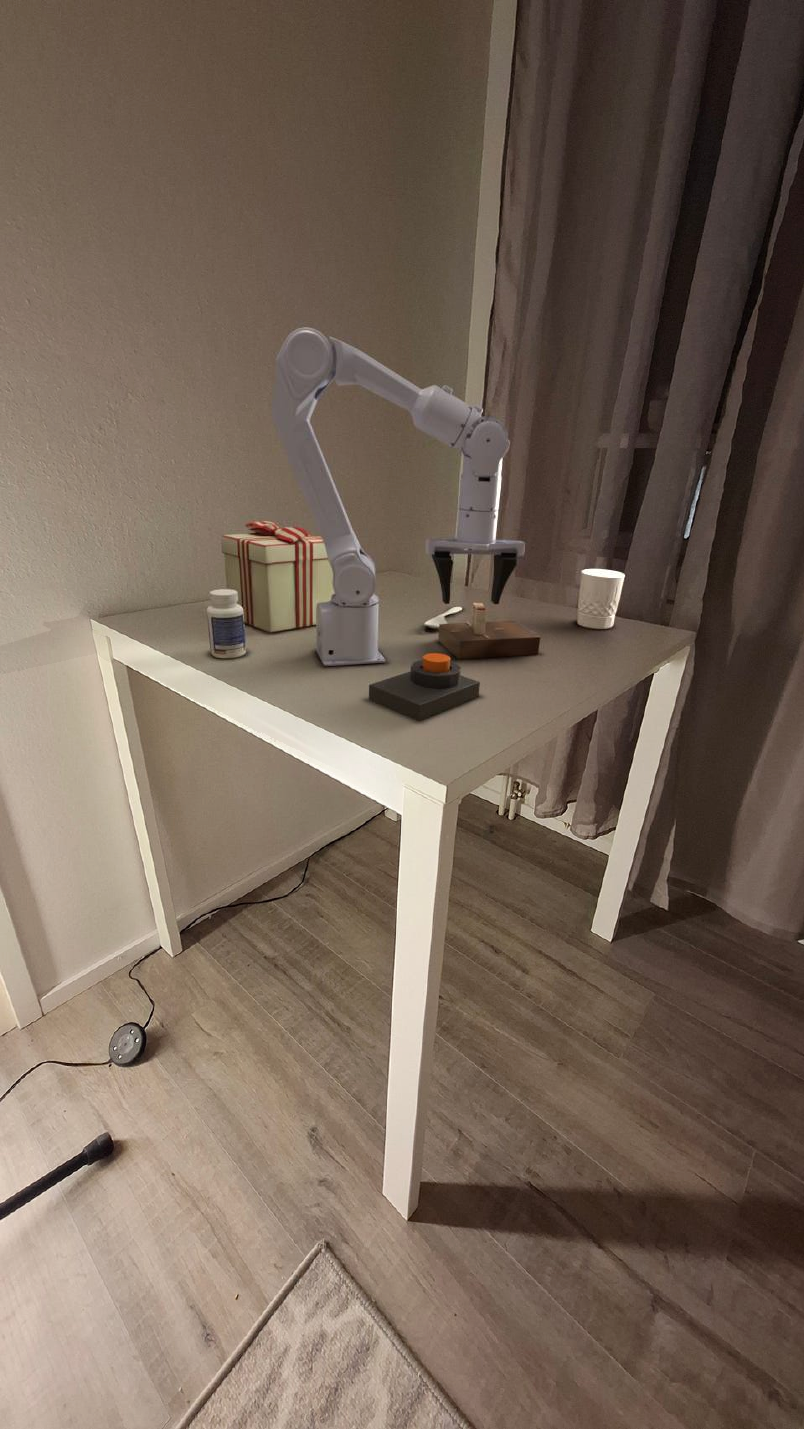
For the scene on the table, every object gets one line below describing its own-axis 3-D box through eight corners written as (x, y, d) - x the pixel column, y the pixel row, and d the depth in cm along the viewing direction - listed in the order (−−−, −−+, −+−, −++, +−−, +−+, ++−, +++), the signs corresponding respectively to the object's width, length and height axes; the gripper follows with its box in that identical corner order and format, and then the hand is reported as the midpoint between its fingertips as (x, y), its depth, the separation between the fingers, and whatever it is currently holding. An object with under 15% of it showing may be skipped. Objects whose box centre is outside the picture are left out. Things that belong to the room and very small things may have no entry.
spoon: (418, 631, 111) (419, 622, 110) (449, 606, 129) (449, 598, 128) (440, 634, 110) (441, 625, 109) (468, 609, 128) (469, 601, 127)
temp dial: (470, 626, 104) (473, 601, 102) (480, 626, 104) (482, 601, 103) (474, 634, 100) (476, 608, 98) (484, 634, 100) (486, 609, 98)
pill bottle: (253, 654, 96) (249, 592, 92) (223, 661, 92) (217, 597, 89) (234, 646, 99) (229, 586, 96) (204, 653, 96) (197, 591, 92)
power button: (437, 676, 80) (438, 663, 79) (416, 669, 82) (417, 656, 81) (454, 670, 82) (455, 657, 81) (434, 663, 84) (435, 651, 83)
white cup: (582, 617, 125) (590, 567, 121) (621, 624, 121) (630, 572, 116) (567, 624, 119) (575, 572, 115) (607, 632, 115) (617, 579, 111)
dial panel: (458, 659, 97) (460, 640, 96) (438, 640, 106) (439, 623, 105) (538, 654, 101) (540, 635, 100) (512, 636, 110) (513, 619, 109)
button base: (418, 721, 75) (420, 691, 74) (368, 700, 81) (368, 671, 79) (478, 696, 83) (481, 669, 82) (429, 679, 89) (430, 652, 87)
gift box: (352, 618, 118) (352, 524, 111) (274, 636, 105) (269, 532, 98) (294, 601, 128) (291, 515, 121) (217, 617, 115) (209, 521, 108)
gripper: (433, 511, 84) (427, 608, 90) (535, 513, 86) (524, 609, 91) (425, 505, 90) (420, 597, 96) (520, 508, 92) (510, 598, 98)
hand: (470, 602), depth 94 cm, fingers open, 7 cm apart
